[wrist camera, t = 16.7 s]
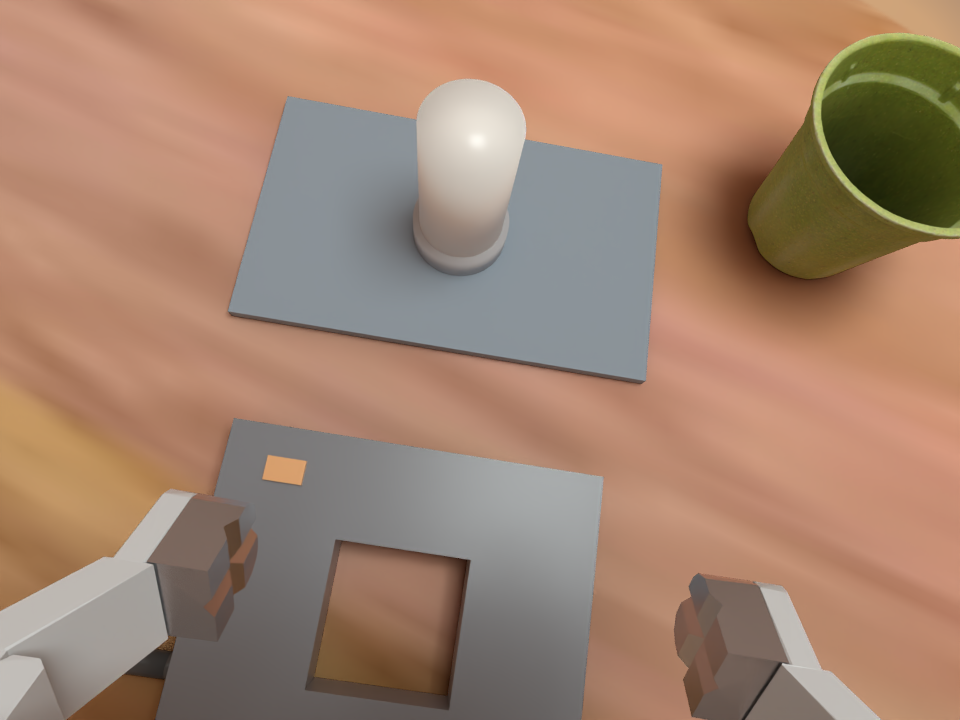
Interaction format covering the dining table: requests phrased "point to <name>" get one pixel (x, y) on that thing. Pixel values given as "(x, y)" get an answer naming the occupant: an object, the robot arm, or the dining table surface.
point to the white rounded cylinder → (466, 174)
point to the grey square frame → (402, 525)
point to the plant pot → (867, 160)
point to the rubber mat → (436, 295)
